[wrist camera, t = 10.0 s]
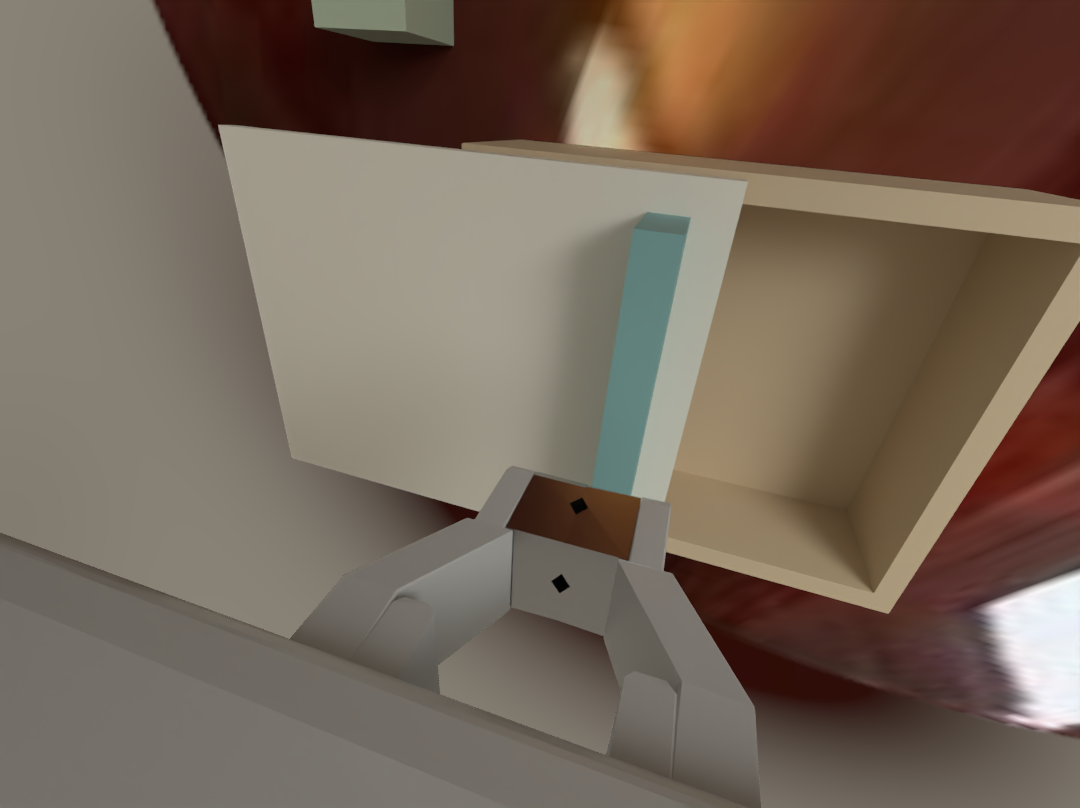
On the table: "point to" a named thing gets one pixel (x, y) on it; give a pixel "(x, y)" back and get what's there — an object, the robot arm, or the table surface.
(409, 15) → the cube
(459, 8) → the table surface
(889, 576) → the box
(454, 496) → the lid
